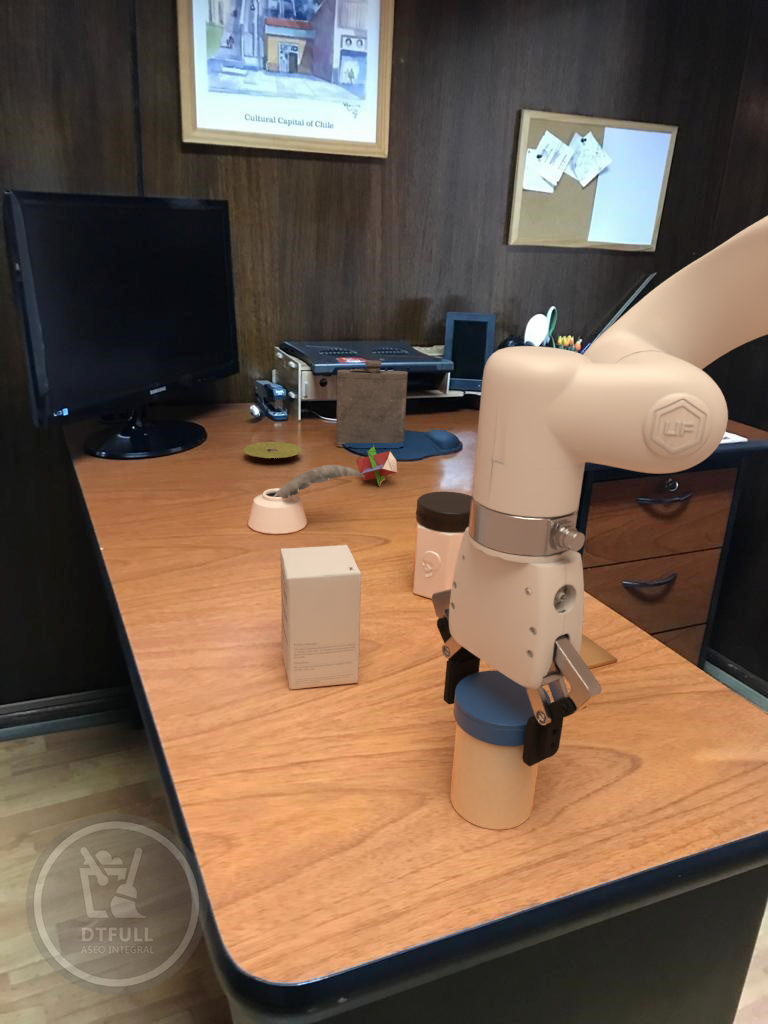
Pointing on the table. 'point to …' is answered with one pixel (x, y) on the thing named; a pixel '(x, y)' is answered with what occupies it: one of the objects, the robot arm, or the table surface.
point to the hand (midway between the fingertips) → (497, 726)
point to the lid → (493, 708)
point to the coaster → (594, 654)
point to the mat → (272, 450)
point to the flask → (370, 405)
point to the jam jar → (491, 783)
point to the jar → (438, 540)
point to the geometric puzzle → (377, 465)
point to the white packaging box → (320, 616)
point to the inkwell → (290, 501)
